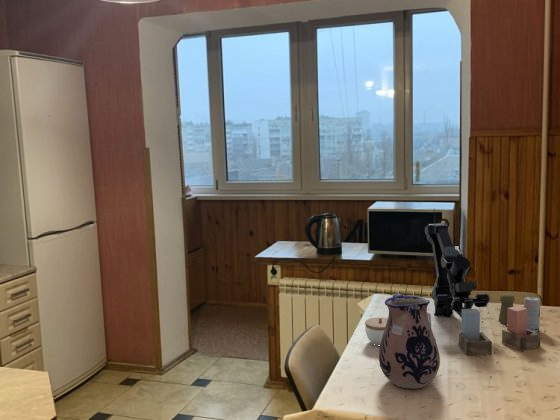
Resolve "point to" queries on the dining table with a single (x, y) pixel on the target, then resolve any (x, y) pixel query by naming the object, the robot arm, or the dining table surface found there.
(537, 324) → the energy drink
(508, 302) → the olive green cylinder
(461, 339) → the grey brown open box
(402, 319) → the ceramic pitcher
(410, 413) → the dining table surface
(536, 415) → the dining table surface
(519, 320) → the salmon pink block
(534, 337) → the grey-brown wooden tray
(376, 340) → the lidded jar
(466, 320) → the blue-grey rectangular block
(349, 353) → the dining table surface
